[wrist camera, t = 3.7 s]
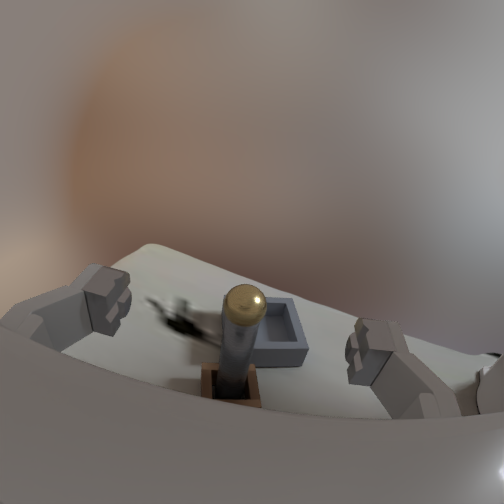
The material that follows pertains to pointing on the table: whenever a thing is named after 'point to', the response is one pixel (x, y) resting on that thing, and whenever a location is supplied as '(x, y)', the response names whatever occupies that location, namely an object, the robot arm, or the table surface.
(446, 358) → the table surface
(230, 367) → the pin
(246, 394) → the collar
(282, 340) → the tray
